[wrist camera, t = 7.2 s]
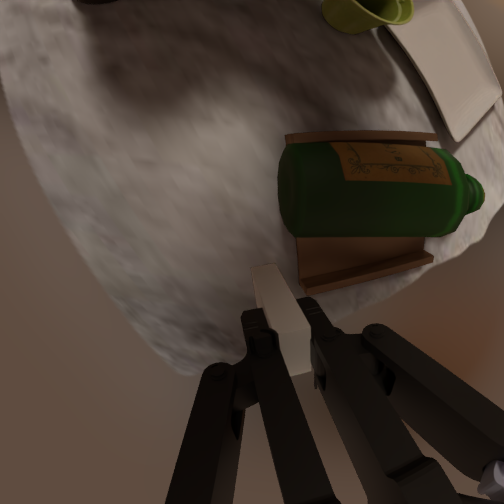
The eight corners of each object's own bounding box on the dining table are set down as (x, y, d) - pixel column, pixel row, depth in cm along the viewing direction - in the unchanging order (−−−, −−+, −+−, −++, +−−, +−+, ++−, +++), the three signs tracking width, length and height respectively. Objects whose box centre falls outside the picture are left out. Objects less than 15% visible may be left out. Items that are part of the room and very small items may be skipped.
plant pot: (291, 5, 21) (316, -31, 13) (337, -20, 20) (368, -49, 12) (346, 57, 25) (387, 37, 17) (386, 28, 23) (426, 10, 15)
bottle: (270, 150, 29) (447, 163, 32) (277, 246, 30) (454, 233, 33) (296, 110, 18) (498, 150, 22) (310, 253, 19) (507, 234, 22)
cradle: (284, 134, 27) (292, 133, 25) (422, 132, 29) (437, 133, 26) (299, 284, 34) (307, 295, 31) (420, 254, 36) (433, 262, 33)
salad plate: (363, 17, 23) (376, 9, 20) (432, -7, 20) (445, -13, 17) (441, 145, 31) (457, 147, 27) (490, 93, 28) (503, 93, 25)
